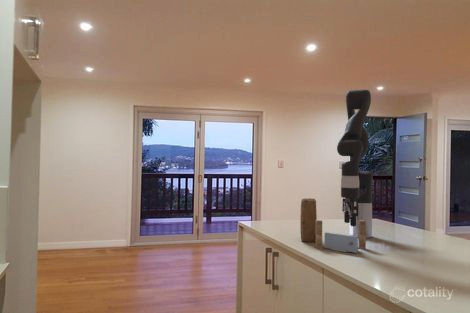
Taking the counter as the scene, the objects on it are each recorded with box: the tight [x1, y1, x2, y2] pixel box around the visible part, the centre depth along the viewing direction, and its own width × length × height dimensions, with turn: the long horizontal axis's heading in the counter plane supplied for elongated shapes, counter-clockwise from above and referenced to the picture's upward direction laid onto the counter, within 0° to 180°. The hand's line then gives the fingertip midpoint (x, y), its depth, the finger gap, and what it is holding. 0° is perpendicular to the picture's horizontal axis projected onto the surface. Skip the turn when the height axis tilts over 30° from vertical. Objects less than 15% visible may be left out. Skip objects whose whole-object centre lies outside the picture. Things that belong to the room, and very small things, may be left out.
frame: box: [315, 219, 367, 250], centre depth 169 cm, size 2×21×12 cm, turn 91°
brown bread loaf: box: [299, 198, 318, 243], centre depth 186 cm, size 11×8×20 cm
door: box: [324, 231, 359, 254], centre depth 163 cm, size 3×14×6 cm, turn 48°
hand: (350, 224), depth 165 cm, fingers open, 8 cm apart
